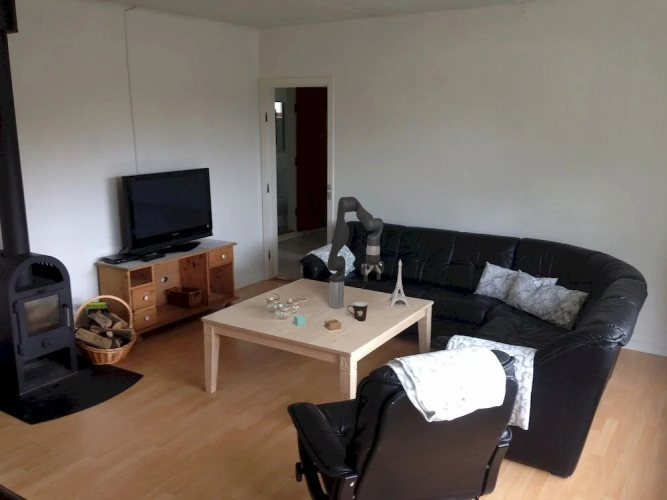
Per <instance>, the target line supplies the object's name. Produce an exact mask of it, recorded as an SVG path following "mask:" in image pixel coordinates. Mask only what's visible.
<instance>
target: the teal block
mask: <svg viewBox="0 0 667 500" xmlns="http://www.w3.org/2000/svg"><path fill="white" fill-rule="evenodd" d="M293 324H294V325H295V326H297V327H301V326H306V315H305V316H304V315H303V314H298V315H293Z"/></svg>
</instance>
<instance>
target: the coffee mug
mask: <svg viewBox="0 0 667 500" xmlns="http://www.w3.org/2000/svg"><path fill="white" fill-rule="evenodd" d="M368 305H369V304H368V303H367V302H364V301H356V302H353V305H348V306H347V311H348V312H349V313H350V314H351V315H352V316H354V319H355V320H356V321H357V322H365V321H366V317H367V313H368ZM349 307H351V308H352V309H353V312H352V311H350V310H349Z"/></svg>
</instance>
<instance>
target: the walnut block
mask: <svg viewBox="0 0 667 500" xmlns="http://www.w3.org/2000/svg"><path fill="white" fill-rule="evenodd" d="M324 327H325V328H326V329H328V330H329V331H332V332H336V331H335V330H338V331H342V330H341V329H342V322H341V321H339V320H338V319H328V320H324ZM325 328H324V329H325ZM328 330H327V331H328ZM329 331H328V332H329Z"/></svg>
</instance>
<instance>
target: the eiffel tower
mask: <svg viewBox="0 0 667 500" xmlns="http://www.w3.org/2000/svg"><path fill="white" fill-rule="evenodd" d="M402 263H403V262H402V259H399V261H398V264H397V265H398V272H397V278H396V279H397V281H396V284H395V289H394V290H393V292H392V293H391V295H390V297H388V299H387V300H386V302H388V303H390V304H389V305H388V306H389V307H390V308H394V307H395V303H396V302H397V301H399V300H400V301H402V302H403V303H404V304H405V307H407V308H409V307H411V305H410V304H409V301H408V300H407V298H406V297H407V295H405V293H404V290H403V283H402V266H403V264H402Z"/></svg>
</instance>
